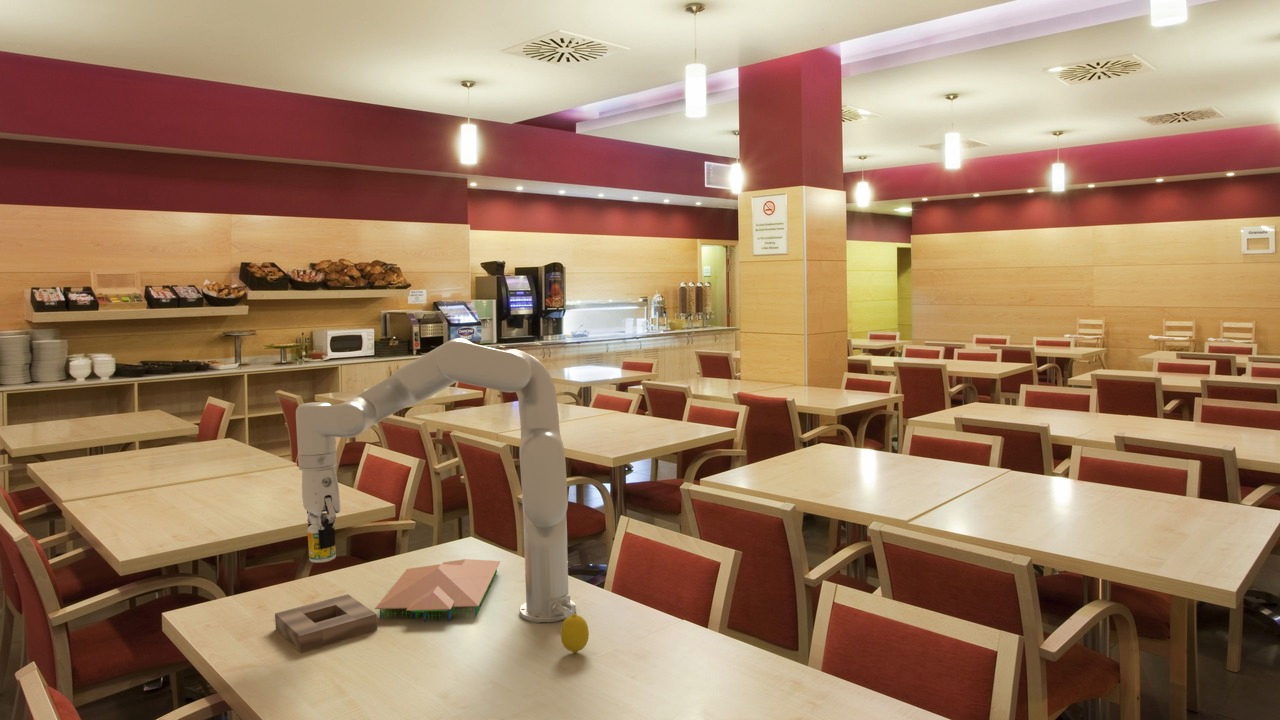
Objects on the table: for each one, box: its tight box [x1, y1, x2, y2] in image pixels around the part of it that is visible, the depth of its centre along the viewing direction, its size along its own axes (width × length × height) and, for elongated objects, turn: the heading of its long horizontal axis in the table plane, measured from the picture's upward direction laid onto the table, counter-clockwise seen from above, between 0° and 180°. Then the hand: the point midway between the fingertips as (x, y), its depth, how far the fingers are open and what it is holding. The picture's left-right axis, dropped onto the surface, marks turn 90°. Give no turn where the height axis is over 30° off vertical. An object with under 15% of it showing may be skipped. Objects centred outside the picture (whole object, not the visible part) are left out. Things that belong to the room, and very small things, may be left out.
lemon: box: [560, 613, 590, 654], centre depth 158 cm, size 6×6×8 cm
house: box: [374, 558, 501, 622], centre depth 190 cm, size 23×33×8 cm
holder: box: [274, 593, 378, 653], centre depth 172 cm, size 16×16×4 cm
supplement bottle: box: [307, 512, 337, 564], centre depth 170 cm, size 5×5×10 cm
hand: (322, 543), depth 171 cm, fingers closed on supplement bottle, 5 cm apart
